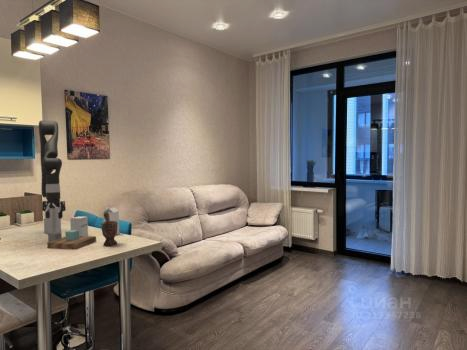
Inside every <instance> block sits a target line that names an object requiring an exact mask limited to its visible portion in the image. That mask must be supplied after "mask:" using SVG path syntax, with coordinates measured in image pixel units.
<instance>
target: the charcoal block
mask: <svg viewBox="0 0 467 350" xmlns="http://www.w3.org/2000/svg"><path fill="white" fill-rule="evenodd" d="M60 238H63V237H62V232H59V233H57V232H54V233H51V234H47V239H48V241H47V243H48V242H51V241H54V240H57V239H60Z"/></svg>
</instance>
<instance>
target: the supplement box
mask: <svg viewBox="0 0 467 350" xmlns="http://www.w3.org/2000/svg"><path fill="white" fill-rule="evenodd" d="M69 219H70V220H69V221H70V230H79V236H89V225H88V224H89V223H88V219H89V218H88V216H79V215H78V216H75V217H70V218H69Z"/></svg>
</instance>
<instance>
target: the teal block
mask: <svg viewBox="0 0 467 350" xmlns="http://www.w3.org/2000/svg"><path fill="white" fill-rule="evenodd" d="M64 232H65V233H64V235H65V236H64V237H65V238H66V240H68V241H74V240H77V239H79V230H71V229H70V230H67V231H64Z"/></svg>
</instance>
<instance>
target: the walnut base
mask: <svg viewBox="0 0 467 350" xmlns="http://www.w3.org/2000/svg"><path fill="white" fill-rule="evenodd" d="M96 242H97V236H95V235H94V236H92V235H88V236H79V239H77V240H74V241H68V240H66V238H65V236H63V237H62V238H60V239H57V240H54V241H51V242H48V241H47V243H46V247H47V249H56V250H57V249H58V250H79V249H81V248H83V247H85V246H89V245H91V244H93V243H96Z"/></svg>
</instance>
